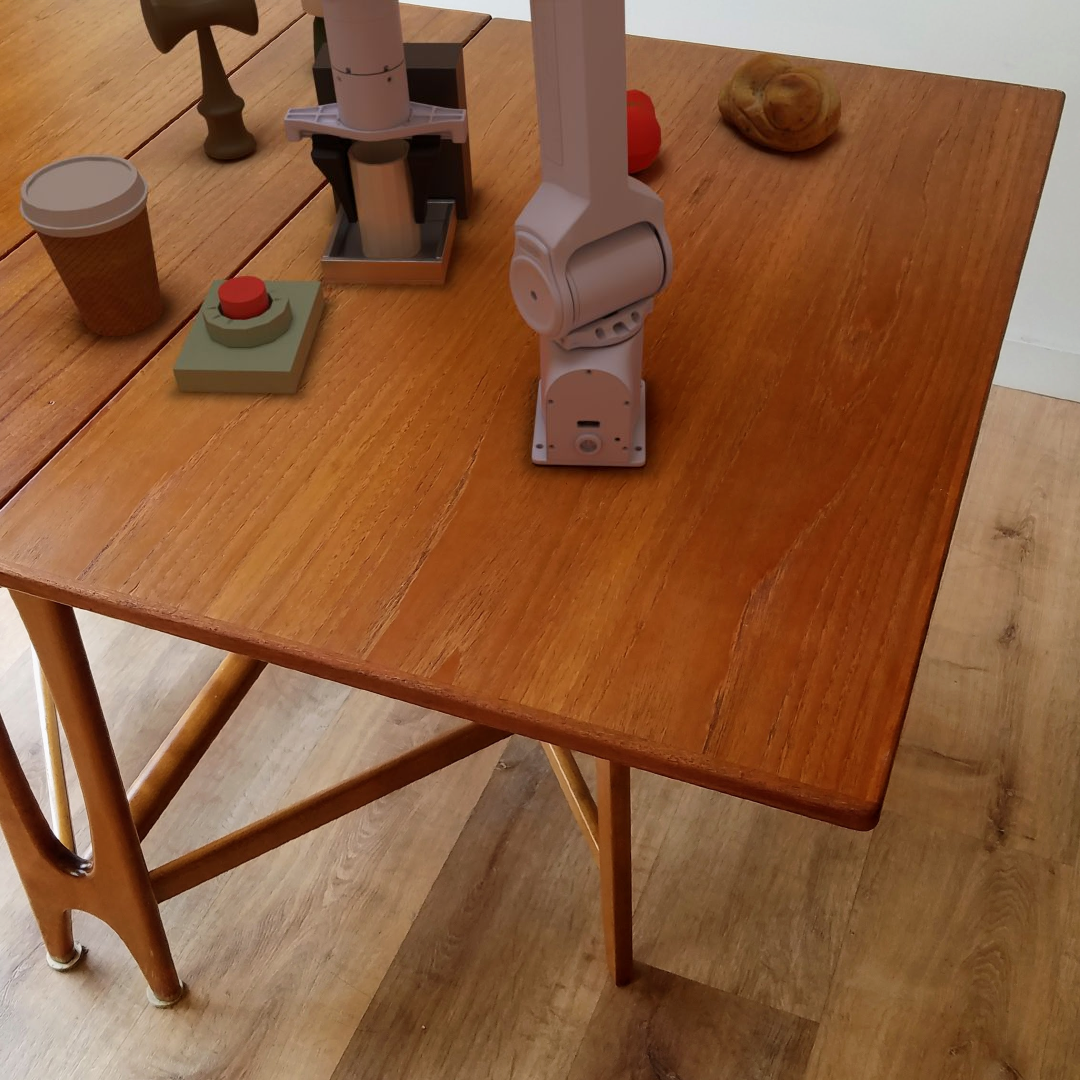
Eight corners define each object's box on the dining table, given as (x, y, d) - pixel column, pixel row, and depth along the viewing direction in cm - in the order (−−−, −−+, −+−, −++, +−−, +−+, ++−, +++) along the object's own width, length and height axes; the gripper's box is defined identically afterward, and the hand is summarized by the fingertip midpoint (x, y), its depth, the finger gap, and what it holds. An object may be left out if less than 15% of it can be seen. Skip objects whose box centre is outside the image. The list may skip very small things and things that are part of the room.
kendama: (287, 151, 115) (246, -65, 100) (194, 176, 111) (137, -43, 97) (266, 127, 118) (223, -84, 104) (175, 151, 115) (118, -63, 101)
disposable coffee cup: (64, 358, 92) (11, 223, 83) (65, 293, 98) (16, 161, 89) (186, 336, 93) (146, 202, 84) (179, 274, 100) (141, 143, 91)
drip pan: (443, 285, 97) (441, 261, 96) (324, 283, 98) (320, 260, 96) (457, 222, 104) (455, 199, 103) (346, 220, 105) (342, 197, 103)
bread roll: (695, 121, 117) (700, 42, 111) (765, 94, 121) (774, 16, 115) (784, 171, 109) (796, 88, 104) (856, 140, 113) (871, 59, 108)
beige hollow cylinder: (417, 263, 99) (406, 166, 92) (357, 263, 99) (342, 165, 93) (425, 231, 103) (415, 135, 96) (367, 230, 103) (353, 135, 96)
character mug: (390, 82, 125) (375, -46, 116) (326, 94, 123) (306, -34, 114) (361, 44, 132) (345, -79, 123) (300, 55, 130) (279, -68, 121)
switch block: (295, 394, 88) (285, 351, 85) (179, 392, 88) (166, 349, 85) (325, 303, 96) (317, 261, 93) (219, 302, 96) (208, 260, 94)
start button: (263, 321, 88) (259, 302, 87) (217, 321, 88) (212, 301, 87) (274, 294, 91) (269, 275, 89) (229, 294, 91) (224, 275, 90)
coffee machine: (467, 220, 105) (455, 67, 95) (337, 219, 105) (311, 67, 95) (473, 192, 108) (462, 42, 98) (346, 191, 109) (323, 42, 99)
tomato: (665, 186, 108) (669, 119, 103) (548, 192, 108) (547, 125, 103) (652, 137, 115) (656, 72, 110) (543, 142, 115) (541, 78, 110)
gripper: (466, 38, 91) (477, 194, 101) (286, 37, 92) (314, 192, 102) (456, 77, 86) (468, 237, 96) (266, 76, 87) (297, 235, 97)
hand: (388, 217), depth 99 cm, fingers closed on beige hollow cylinder, 5 cm apart
